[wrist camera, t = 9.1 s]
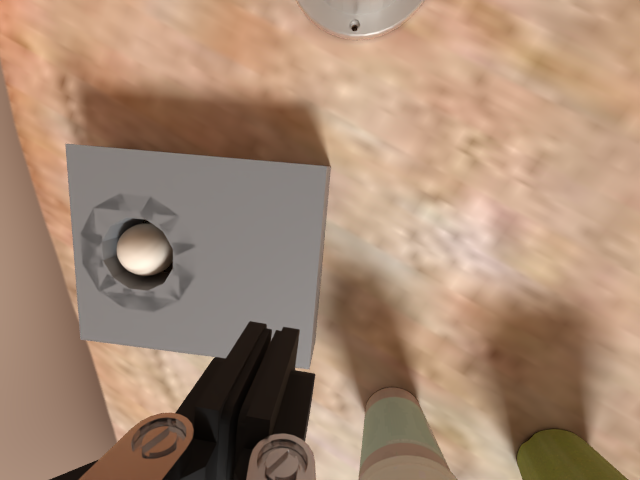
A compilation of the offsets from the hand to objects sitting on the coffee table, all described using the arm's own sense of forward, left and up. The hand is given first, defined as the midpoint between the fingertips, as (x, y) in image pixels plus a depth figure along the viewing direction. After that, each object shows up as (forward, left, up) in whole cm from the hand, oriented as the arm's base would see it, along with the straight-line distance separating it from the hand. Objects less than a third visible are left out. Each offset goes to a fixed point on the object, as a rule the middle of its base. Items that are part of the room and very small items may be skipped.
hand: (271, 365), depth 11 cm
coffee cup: (+18, +9, -22) cm, 30 cm away
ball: (+3, -17, -20) cm, 26 cm away
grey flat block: (+2, -11, -22) cm, 25 cm away
